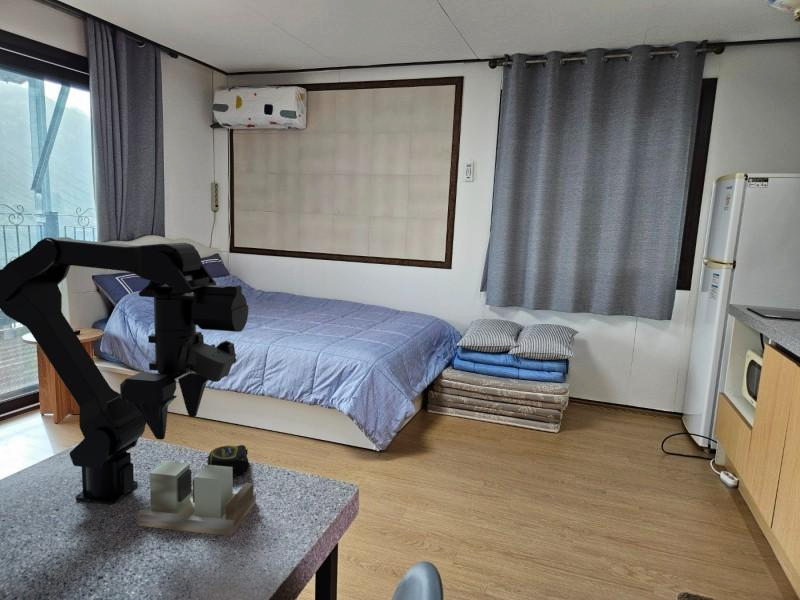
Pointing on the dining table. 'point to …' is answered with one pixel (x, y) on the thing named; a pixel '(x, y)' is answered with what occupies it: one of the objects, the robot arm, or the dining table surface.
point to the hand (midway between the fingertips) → (177, 427)
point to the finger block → (212, 490)
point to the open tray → (189, 503)
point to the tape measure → (230, 458)
